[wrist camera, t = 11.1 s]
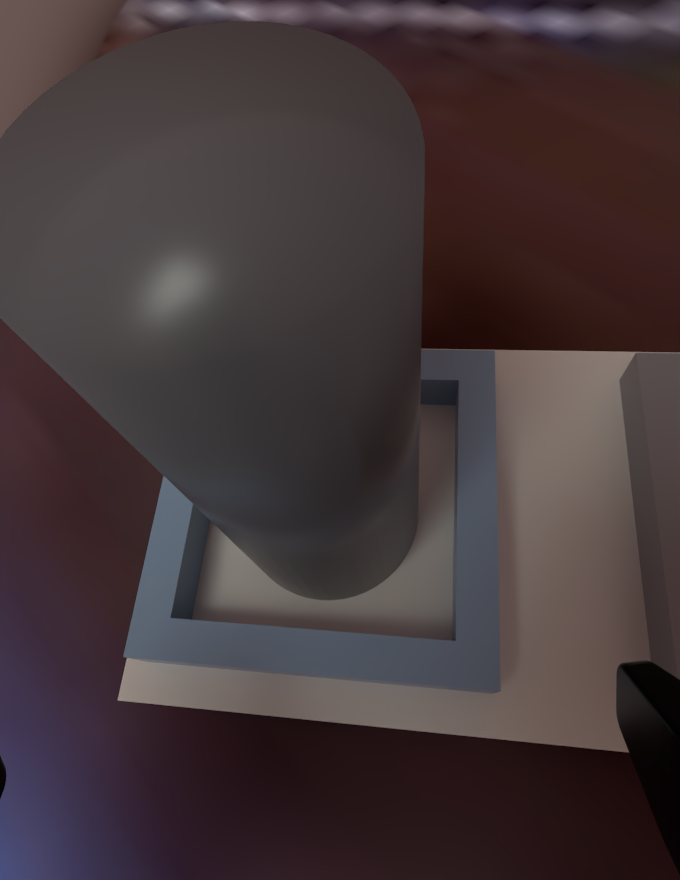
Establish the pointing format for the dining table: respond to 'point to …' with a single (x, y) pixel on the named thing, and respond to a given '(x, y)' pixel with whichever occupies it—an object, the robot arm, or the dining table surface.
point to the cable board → (456, 569)
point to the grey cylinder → (236, 282)
